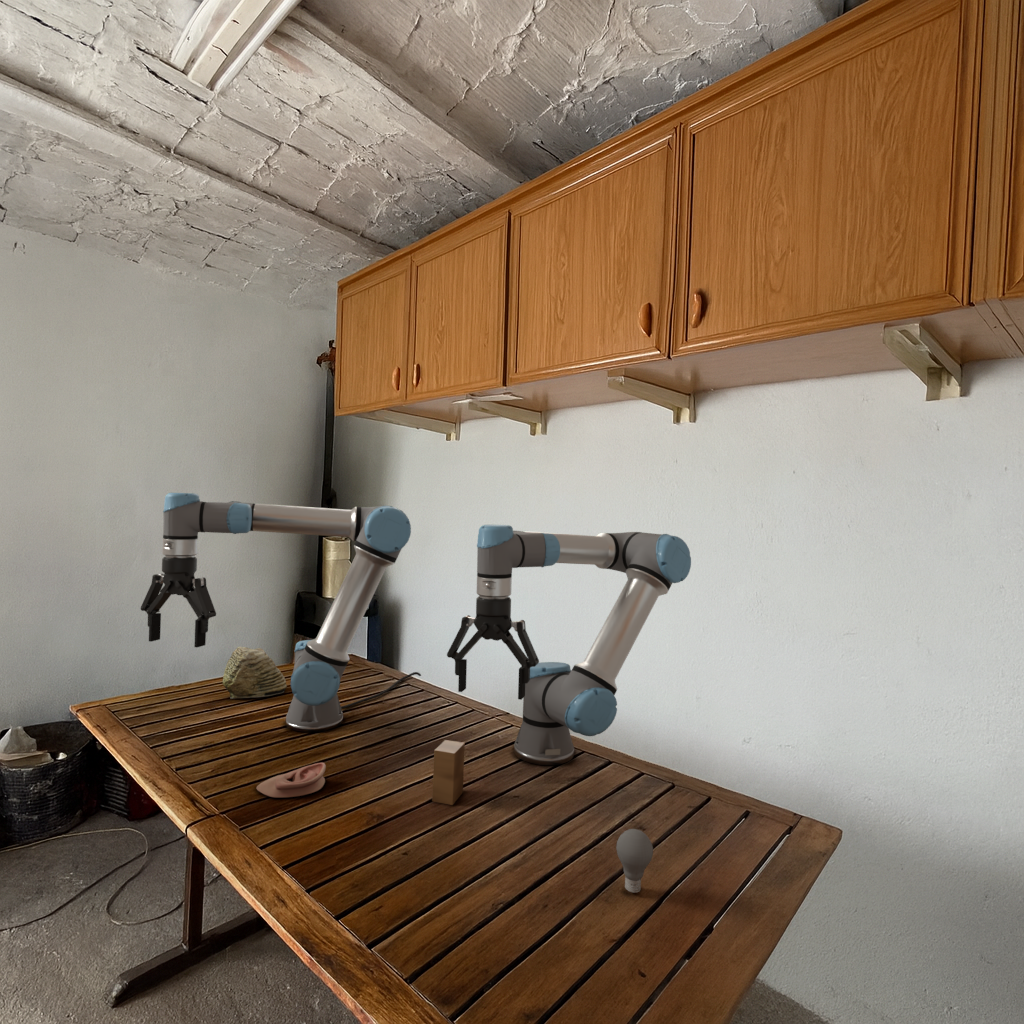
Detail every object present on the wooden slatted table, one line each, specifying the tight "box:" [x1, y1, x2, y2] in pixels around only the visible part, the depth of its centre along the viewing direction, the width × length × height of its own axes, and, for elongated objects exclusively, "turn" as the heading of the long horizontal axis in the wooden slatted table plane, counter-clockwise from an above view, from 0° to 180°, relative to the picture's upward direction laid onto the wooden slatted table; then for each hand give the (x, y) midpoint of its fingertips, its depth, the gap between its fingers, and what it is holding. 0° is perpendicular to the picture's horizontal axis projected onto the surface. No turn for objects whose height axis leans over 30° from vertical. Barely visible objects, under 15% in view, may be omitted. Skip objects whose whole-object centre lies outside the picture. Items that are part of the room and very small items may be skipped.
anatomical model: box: [256, 762, 327, 799], centre depth 137 cm, size 13×4×12 cm
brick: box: [431, 739, 466, 806], centre depth 136 cm, size 6×5×11 cm
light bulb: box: [615, 828, 654, 894], centre depth 106 cm, size 6×6×10 cm
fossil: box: [222, 646, 288, 699], centre depth 198 cm, size 9×18×15 cm, turn 132°
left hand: (176, 643), depth 154 cm, fingers open, 13 cm apart
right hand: (491, 694), depth 137 cm, fingers open, 13 cm apart
